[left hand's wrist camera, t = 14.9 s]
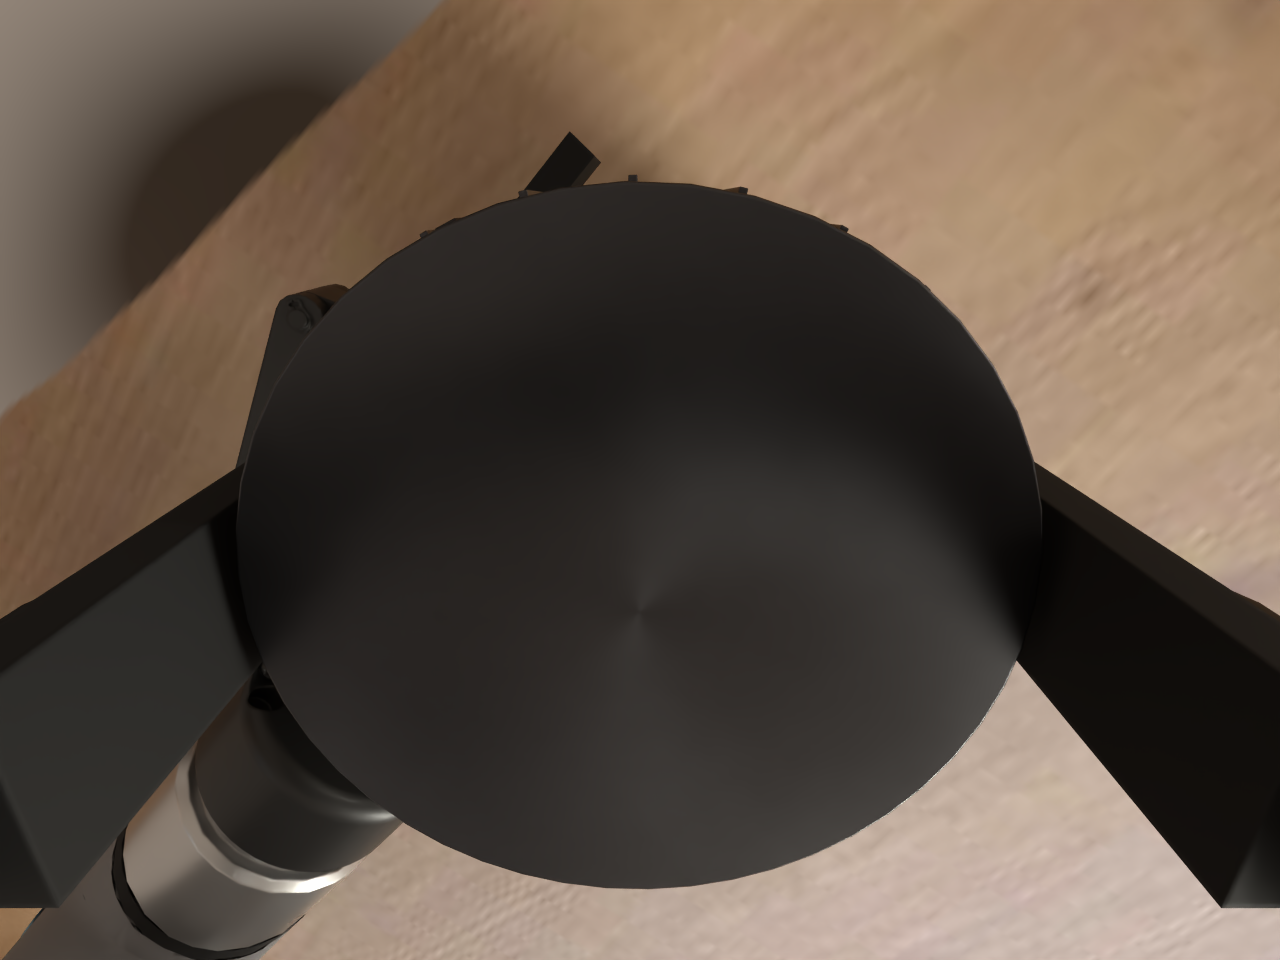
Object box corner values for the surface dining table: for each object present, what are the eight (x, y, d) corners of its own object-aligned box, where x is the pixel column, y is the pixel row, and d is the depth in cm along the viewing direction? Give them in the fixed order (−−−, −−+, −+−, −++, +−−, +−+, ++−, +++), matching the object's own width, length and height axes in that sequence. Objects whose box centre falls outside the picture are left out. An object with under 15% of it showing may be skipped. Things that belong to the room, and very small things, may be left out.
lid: (200, 599, 13) (105, 684, 10) (541, -8, 9) (510, -78, 7) (697, 863, 15) (706, 977, 13) (1113, 467, 12) (1225, 531, 9)
